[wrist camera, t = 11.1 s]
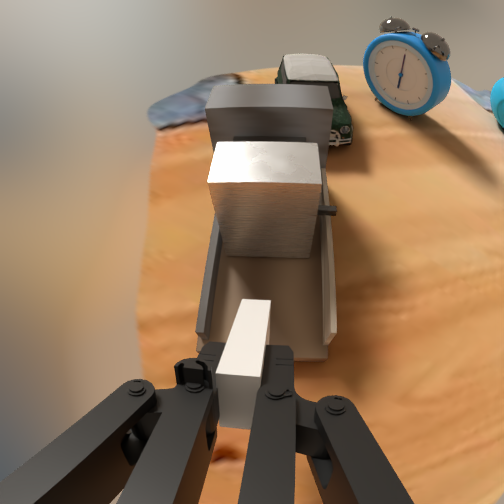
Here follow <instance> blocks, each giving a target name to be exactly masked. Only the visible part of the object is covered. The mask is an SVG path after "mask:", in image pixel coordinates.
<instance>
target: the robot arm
mask: <svg viewBox="0 0 504 504" xmlns="http://www.w3.org/2000/svg"><path fill="white" fill-rule="evenodd" d="M270 308H271V300H252V299H242V301H241V304H240V306H239V309H238V312H237V315H236V318H235V320H234V323H233V326H232V329H231V331H230V334H229V337H228V340H227V343H223V342H212V341H209V342H208V343H207V344H205V345H204V346H203V347H202V349H201V351H200V353H199V355H198V357H197V358H188V359H183V360H181V361H179V362H177V363H176V365H175V366H174V369H175V375H176V382H177V385H176V387H175V388H171V389H159V390H155V388H154V386H153V384H152V383H150V382H149V381H147V380H142V379H135V380H131V381H127V382H126V383H124V384H123V385H121V386H120V387H119V388H118V389H117V390H115V391H114V392H113V393H112V394H110V395H109V396H108V397H107V398H106V399H104V400H103V401H102V402H101V403H100V404H98V405H97V406H96V407H94V408H93V409H92V410H91V411H90V412H88V413H87V414H86V415H85V416H83V417H82V418H81V419H80V420H78V421H77V422H76V423H75V424H74V425H72V426H71V427H70V428H69V429H67V430H66V431H65V432H64V433H62V434H61V435H60V436H58V437H57V438H56V439H55V440H54V441H52V442H51V443H50V444H49V445H47V446H46V447H45V448H43V449H42V450H41V451H40V452H38V453H37V454H36V455H35V456H33V457H32V458H31V459H29V460H28V461H27V462H26V463H24V464H23V465H22V466H21V467H19V468H18V469H17V470H15V471H14V472H13V473H12V474H10V475H9V476H8V477H6V478H5V479H4V480H2V481H1V482H0V504H109V503H111V501H112V500H113V499H114V498H115V497H116V496H117V495H118V494H119V493H120V492H121V491H122V489H124V490H123V491H122V494H121V495H120V497H119V499H118V501H117V503H116V504H198V502H199V499H200V495H201V492H202V488H203V485H204V481H205V478H206V474H207V471H208V467H209V464H210V460H211V456H212V453H213V449H214V446H215V442H216V438H217V424H218V420H219V425H220V426H221V427H230V428H240V429H251V432H250V438H249V443H248V449H247V455H246V461H245V466H244V472H243V478H242V483H241V489H240V494H239V499H238V504H294V493H295V452H297V453H301V454H304V455H307V460H308V463H309V465H310V468H311V471H312V474H313V476H314V479H315V482H316V485H317V487H318V490H319V493H320V496H321V498H322V501H323V504H414V502H413V501H412V499H411V497H410V496H409V494H408V492H407V491H406V489H405V488H404V486H403V484H402V483H401V481H400V479H399V478H398V476H397V474H396V473H395V471H394V469H393V468H392V466H391V464H390V463H389V461H388V459H387V458H386V456H385V455H384V453H383V451H382V450H381V448H380V446H379V445H378V443H377V441H376V440H375V438H374V436H373V435H372V433H371V432H370V430H369V428H368V427H367V425H366V423H365V422H364V420H363V418H362V417H361V415H360V414H359V412H358V410H357V409H356V407H355V405H354V404H353V403H352V402H351V401H350V400H349V399H347V398H345V397H342V396H337V395H335V396H327V397H324V398H322V399H320V400H319V401H318V402H317V403H316V402H312V401H308V400H305V399H303V398H301V397H300V396H299V395H298V394H297V393H296V392H295V389H294V352H293V351H292V349H291V348H290V347H289V346H287V345H269V335H270Z"/></svg>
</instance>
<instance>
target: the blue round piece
mask: <svg viewBox="0 0 504 504" xmlns="http://www.w3.org/2000/svg"><path fill="white" fill-rule="evenodd" d="M490 101H491V108H492V111H493V114H494V116H495V118H496V119H497V121H498V122H499V124H500V125H501V126H502V127H503V128H504V77H503V78H501V79H500V80H498V81H497V82H496V83H495V85H494V86H493V88H492V91H491V97H490Z"/></svg>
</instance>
